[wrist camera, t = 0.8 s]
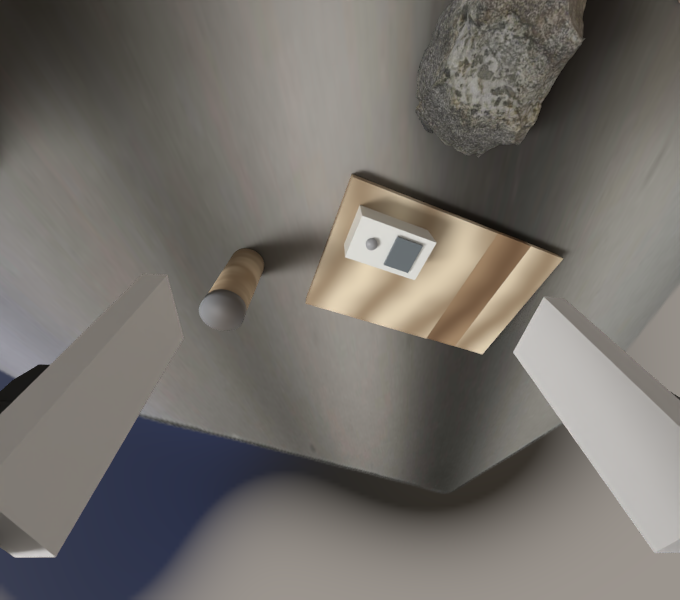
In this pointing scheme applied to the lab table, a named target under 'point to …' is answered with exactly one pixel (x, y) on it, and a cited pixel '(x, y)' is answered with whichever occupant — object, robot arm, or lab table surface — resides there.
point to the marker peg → (232, 291)
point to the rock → (494, 68)
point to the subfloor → (431, 274)
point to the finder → (388, 243)
